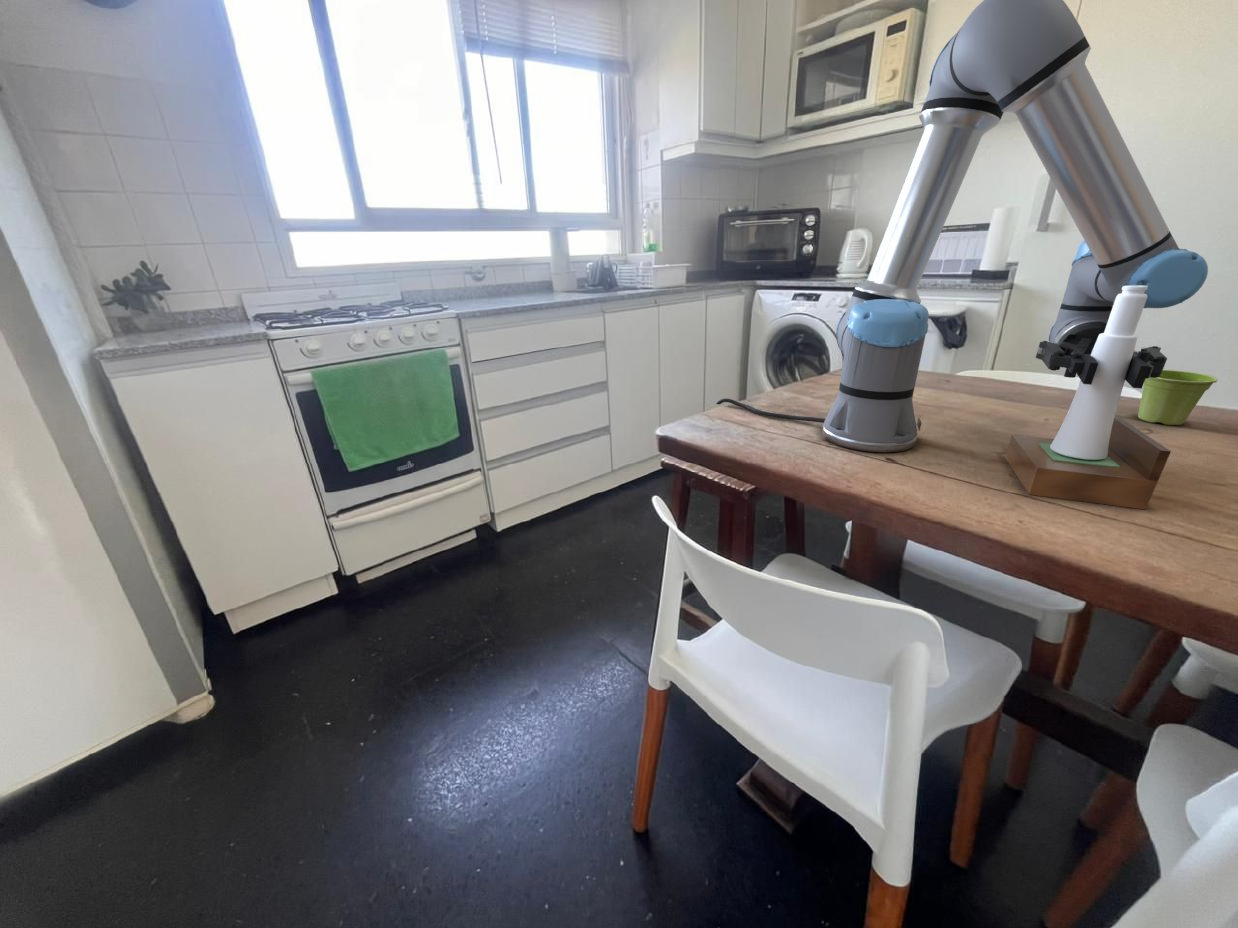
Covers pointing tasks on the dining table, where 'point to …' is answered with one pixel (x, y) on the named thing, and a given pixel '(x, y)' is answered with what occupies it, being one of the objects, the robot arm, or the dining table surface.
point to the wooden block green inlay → (1092, 468)
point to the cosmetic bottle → (1103, 382)
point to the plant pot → (1172, 396)
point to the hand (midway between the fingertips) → (1115, 375)
